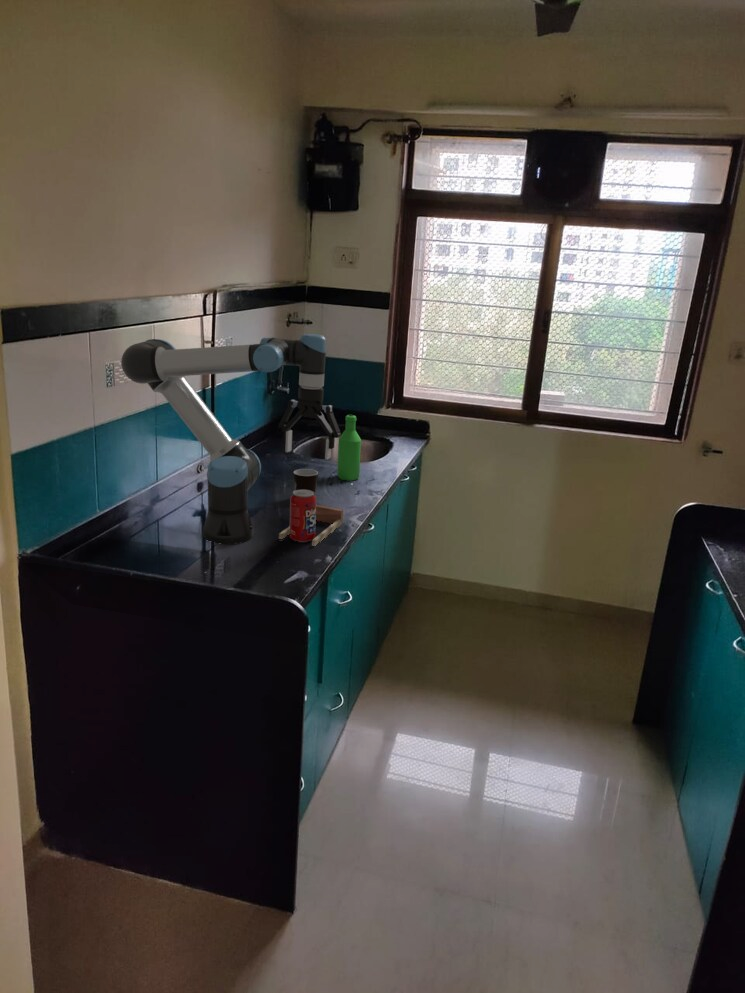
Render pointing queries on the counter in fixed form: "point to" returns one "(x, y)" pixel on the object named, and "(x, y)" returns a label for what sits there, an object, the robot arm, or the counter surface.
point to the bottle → (349, 451)
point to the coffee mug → (305, 479)
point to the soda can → (302, 515)
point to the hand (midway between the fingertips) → (308, 454)
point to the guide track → (325, 516)
